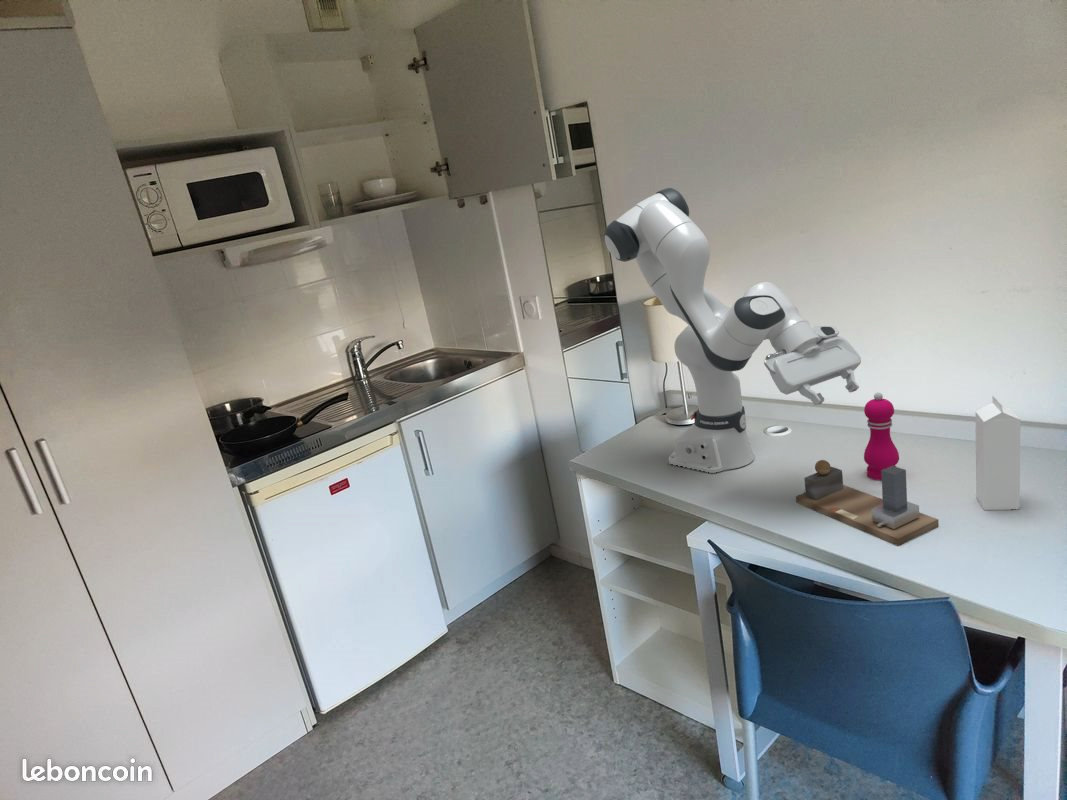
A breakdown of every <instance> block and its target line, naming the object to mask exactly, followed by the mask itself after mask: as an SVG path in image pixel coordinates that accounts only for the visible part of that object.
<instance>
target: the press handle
mask: <svg viewBox="0 0 1067 800" xmlns="http://www.w3.org/2000/svg"><path fill="white" fill-rule="evenodd" d="M895 466H896V465H895ZM895 466H890V467H888V468H886V469H883V470H881V477H882V480H881V495H882V499H883V504H882V505H879V506H877V507H875V508H873V509H871V510H872V521H875V522H877V523H879V524H877V526H879V527H881V526H884V525H885V526H887V527H890V528H892V529H895V528H897V527H900V526H902V525H904V524H906V523H908V522H910V521H912V520H914V519H916V518H918V517H919V512H920V505H918V504H916V503H913V502H910V501H908V496H907V495H908V491H907V470H906V469H904V468H900V467H899V466H896V467H895Z"/></svg>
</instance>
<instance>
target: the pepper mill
mask: <svg viewBox="0 0 1067 800" xmlns="http://www.w3.org/2000/svg"><path fill="white" fill-rule="evenodd" d="M883 396H884V395H883V394H882V393H881V392H875V393H874V395H873V399H870V400H868V401H867V402H866V403H865V406H864V411H863V413H864V416H865V417H867V421H866V422H867V427H868V428H869V431H870V433H869V434H870V435H869V439H868V443H867V444H866V447H865V449H864V453H863V460H864V462H865V464H867V467H866V475H867V476H868V477H869V478H870V479H872V480H875V481H882V477H881V470H883V469H886V468H888V467H890V466H895V467H897V466H896V465H897V464H898V463H899V461H900V455H899V452H898V451H899V450H898V449H897V447H896V445H895V443H894V442H893V440H892V437H891V427H892V426H893V419H892V417H893V416H894V414H895V407H894V405H893V403H892V402H891V401H890V400H888V399H885V398H884V397H883Z"/></svg>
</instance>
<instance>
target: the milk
mask: <svg viewBox="0 0 1067 800" xmlns="http://www.w3.org/2000/svg"><path fill="white" fill-rule="evenodd" d="M991 400H992V402H991V403H989V404H986V405H985V406H983V407H981V408H979V409H978V410H976V411H975V414H974V415H975V492H976V493H975V497H976V499H977V500H978V502H979V504H980V505H981V507H982V508H983V510H984V511H1002V510H1003V511H1005V510H1007V511H1008V510H1009V511H1011V509H1016V510H1020V503H1021V502H1020V499H1021V495H1020V492H1021V491H1020V490H1021V488H1020V487H1021V479H1020V478H1021V419H1020V417H1019V416H1017V414H1015V412H1013V410H1012V409H1011V408H1008V407H1006V406H1003V404H1002V403H1001V402H1000V401H999V399H998V398H996V396H995V395H992V399H991Z"/></svg>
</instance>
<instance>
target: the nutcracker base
mask: <svg viewBox="0 0 1067 800" xmlns="http://www.w3.org/2000/svg"><path fill="white" fill-rule="evenodd" d="M814 470H815V471H816V472H815V473H812V474H810V475H807V476H805V477H804V479H803V480H804V490H805V491H804V492H803V493H801V494H798V495H795V503H796V502H797V503H796V504H798V503H799V504H798V505H801V506H803V507H806V508H808V509H811V510H813V511H816V512H818V513H820V514H822V515H824V516H828V517H829V518H832V519H834V520H837V521H839V522H841V523H844V524H846V525H848V526H851V527H853V528H855V529H857V530H860V531H863V532H865V533H867V534H870V535H872V536H873V537H876V538H879V539H881V540H883V541H886V542H888V543H890V544H893V545H895V546H898V547H899V546H901V545H903V544H904V543H907V542H909V541H911V540H913V539H915V538H917V537H919V536H921V535H923V534H926V533H927V532H930V531H931V530H934V529H936V528H938V527H939V518H936V517H934V516H930V515H928V514H925V513H923V512H920V511H919V517H918V518H916V519H914V520H912V521H910V522H908V523H906V524H904V525H902V526H900V527H897V528H895V529H892V528H890V527H887V526H885V525H884V526H881V527H879V526H877V524H879V523H877V522H875V521H872V510H871V509H873V508H875V507H877V506H879V505H882V504H883V498H880V497H878V496H875V495H874V494H869V493H867V492H864V491H862V490H859V489H856V488H854V487H851V486H847V485H845V484H844V478H843V470H842V469H841V468H837V467H833V466H831V464H830V462H829V461H827V460H825V459H819V460H818V461H816V463H815V464H814Z"/></svg>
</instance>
